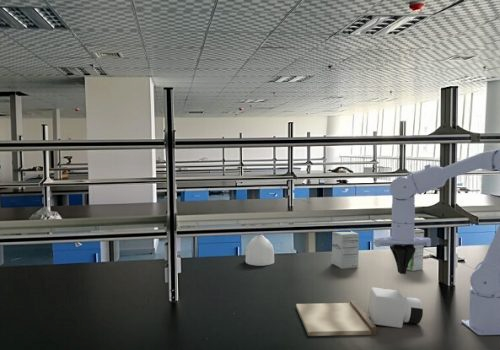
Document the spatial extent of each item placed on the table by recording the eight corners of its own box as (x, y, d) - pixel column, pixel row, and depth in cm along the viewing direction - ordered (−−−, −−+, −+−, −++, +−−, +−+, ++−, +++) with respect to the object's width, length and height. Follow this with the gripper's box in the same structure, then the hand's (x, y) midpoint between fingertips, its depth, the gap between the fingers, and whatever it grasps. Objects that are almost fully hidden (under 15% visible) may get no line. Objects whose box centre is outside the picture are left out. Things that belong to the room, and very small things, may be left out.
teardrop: (239, 261, 167) (239, 230, 166) (261, 256, 174) (261, 227, 174) (258, 267, 159) (258, 234, 158) (280, 262, 166) (280, 231, 165)
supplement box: (331, 263, 163) (331, 230, 163) (348, 262, 166) (349, 229, 165) (340, 269, 156) (341, 234, 156) (359, 267, 159) (359, 233, 158)
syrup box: (399, 267, 159) (400, 228, 158) (411, 265, 161) (412, 226, 160) (411, 271, 153) (412, 230, 152) (423, 269, 156) (424, 229, 155)
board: (354, 306, 120) (354, 300, 120) (376, 334, 102) (376, 327, 102) (296, 307, 119) (296, 301, 119) (308, 336, 101) (308, 328, 101)
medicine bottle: (367, 313, 113) (414, 319, 112) (372, 324, 106) (423, 331, 105) (370, 286, 113) (418, 292, 112) (376, 296, 105) (426, 302, 105)
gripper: (423, 219, 119) (421, 268, 120) (370, 219, 118) (369, 268, 119) (435, 223, 112) (433, 275, 113) (379, 224, 111) (378, 276, 112)
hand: (401, 272), depth 116 cm, fingers closed
